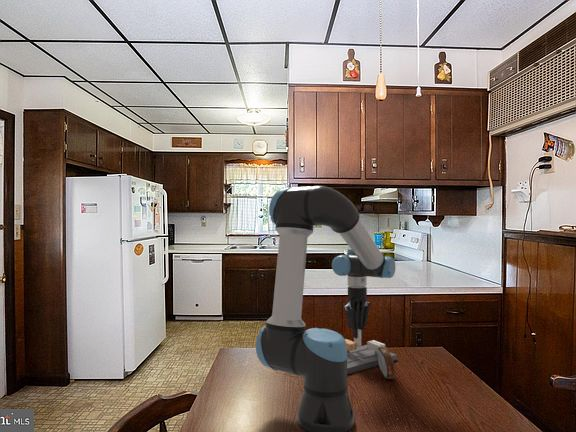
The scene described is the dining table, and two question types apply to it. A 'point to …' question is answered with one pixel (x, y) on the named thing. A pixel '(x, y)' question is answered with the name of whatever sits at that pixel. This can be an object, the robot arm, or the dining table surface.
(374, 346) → the fader cream
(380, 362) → the tin
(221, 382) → the dining table surface
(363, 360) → the console
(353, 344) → the fader orange
